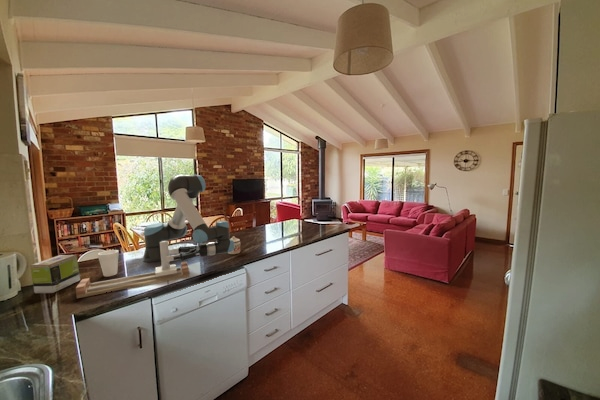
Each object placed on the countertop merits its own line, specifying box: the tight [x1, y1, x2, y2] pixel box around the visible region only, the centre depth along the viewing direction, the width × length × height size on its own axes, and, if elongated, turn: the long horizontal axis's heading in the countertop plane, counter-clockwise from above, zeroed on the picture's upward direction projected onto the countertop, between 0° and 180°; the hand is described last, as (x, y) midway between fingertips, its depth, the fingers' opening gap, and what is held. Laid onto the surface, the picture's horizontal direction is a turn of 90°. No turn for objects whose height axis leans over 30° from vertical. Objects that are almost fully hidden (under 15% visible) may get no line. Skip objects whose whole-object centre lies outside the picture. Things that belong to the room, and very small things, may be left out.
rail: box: [75, 260, 190, 299], centre depth 134 cm, size 12×48×5 cm, turn 119°
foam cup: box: [97, 249, 120, 278], centre depth 145 cm, size 10×9×13 cm
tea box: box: [29, 254, 81, 294], centre depth 130 cm, size 15×10×15 cm, turn 178°
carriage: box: [154, 241, 177, 277], centre depth 139 cm, size 10×10×17 cm
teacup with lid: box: [227, 236, 242, 255], centre depth 183 cm, size 12×9×12 cm
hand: (166, 255), depth 139 cm, fingers open, 13 cm apart
